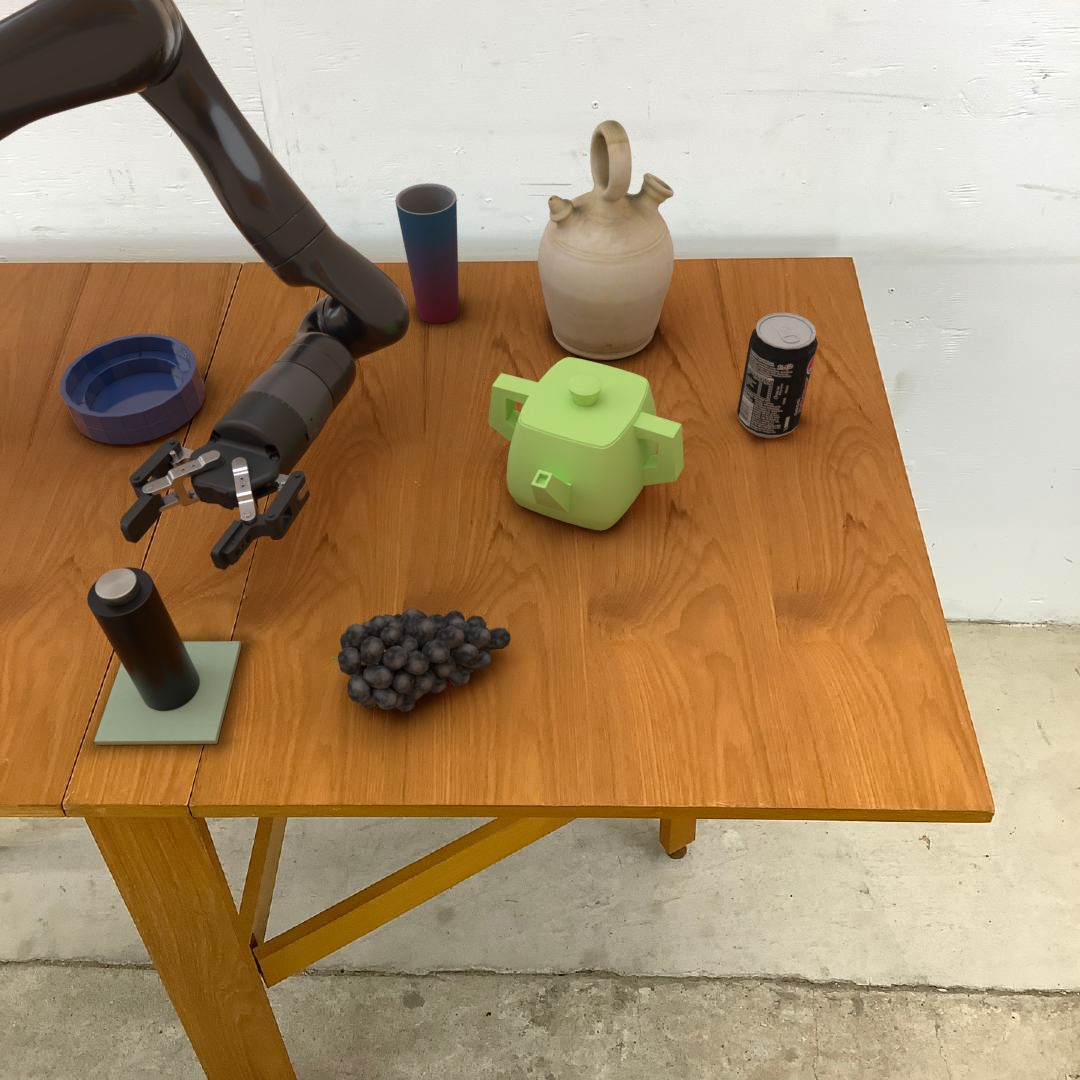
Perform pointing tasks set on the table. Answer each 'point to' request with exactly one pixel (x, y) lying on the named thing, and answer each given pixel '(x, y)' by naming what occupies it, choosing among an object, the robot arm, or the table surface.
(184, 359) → the bowl
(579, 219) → the jug
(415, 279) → the cup
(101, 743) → the mat
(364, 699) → the fruit
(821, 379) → the table surface
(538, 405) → the teapot
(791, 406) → the beverage can
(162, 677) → the bottle
